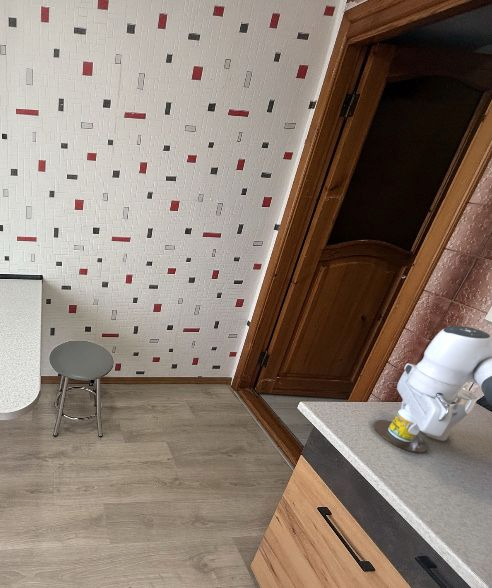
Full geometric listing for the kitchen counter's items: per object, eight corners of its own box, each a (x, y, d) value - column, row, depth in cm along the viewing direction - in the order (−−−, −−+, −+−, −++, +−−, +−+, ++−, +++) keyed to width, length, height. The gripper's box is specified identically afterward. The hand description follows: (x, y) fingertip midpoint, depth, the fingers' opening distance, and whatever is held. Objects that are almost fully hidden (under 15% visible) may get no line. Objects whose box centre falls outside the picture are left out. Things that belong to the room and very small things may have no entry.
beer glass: (426, 438, 92) (455, 396, 86) (409, 420, 99) (435, 380, 92) (455, 445, 91) (487, 402, 85) (436, 426, 97) (465, 386, 91)
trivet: (417, 432, 94) (418, 430, 94) (432, 460, 85) (433, 458, 85) (369, 416, 99) (370, 414, 99) (379, 441, 90) (380, 439, 90)
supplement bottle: (416, 445, 89) (434, 418, 85) (391, 438, 91) (408, 411, 87) (407, 432, 93) (424, 405, 89) (384, 424, 95) (400, 398, 91)
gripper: (470, 413, 75) (437, 456, 81) (433, 368, 92) (408, 406, 97) (433, 402, 77) (404, 445, 83) (404, 360, 94) (382, 398, 100)
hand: (406, 424), depth 90 cm, fingers closed on supplement bottle, 5 cm apart
